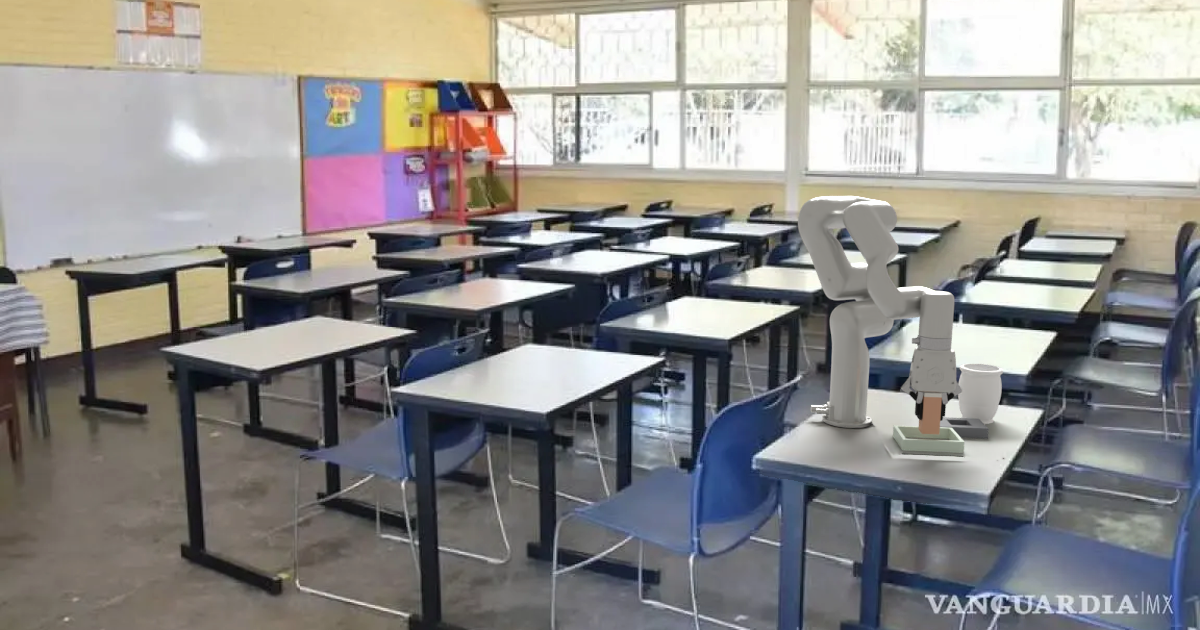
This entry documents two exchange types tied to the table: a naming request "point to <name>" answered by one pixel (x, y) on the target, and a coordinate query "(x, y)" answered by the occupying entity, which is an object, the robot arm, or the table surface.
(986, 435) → the grey block
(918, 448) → the tray
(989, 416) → the jar
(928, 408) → the plug
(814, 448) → the table surface
